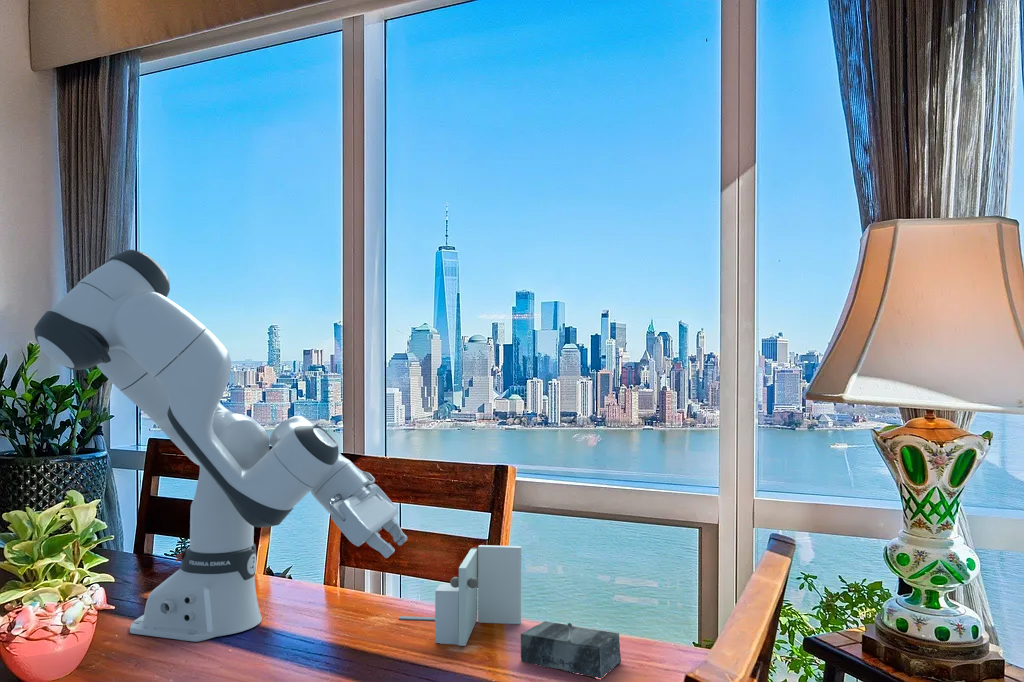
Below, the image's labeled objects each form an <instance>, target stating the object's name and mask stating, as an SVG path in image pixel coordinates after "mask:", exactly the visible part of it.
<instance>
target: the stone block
mask: <svg viewBox="0 0 1024 682" xmlns="http://www.w3.org/2000/svg"><path fill="white" fill-rule="evenodd" d="M520 661H521V662H523V663H526V662H527V663H526V664H530V663H532V664H531V665H534V664H537V665H536V666H538V665H541V666H540V667H543V666H545V667H544V668H550V667H551V668H552V669H556V670H557V669H558V670H562V671H565V672H568V671H569V673H571V672H574V673H579V674H583V675H589V676H588V677H591V676H593V677H598V678H602V677H603V676H604V675H605V674H606V673H608V672H609V671H610V670H612V669H613V668H614V667H615V666H616V665H617V664H619V663H620V662H621V663H622V654H621V643H620V633H619V632H613V631H606V630H600V629H593V628H586V627H579V626H573V625H572V623H570V622H568V623H567V624H565V623H560V622H559V623H557V622H550V621H547V620H546V621H543V622H541V623H539V624H537V625H534V626H532V627H530V628H529V629H528V630H525V631H524V632H522V633H521V634H520ZM617 666H618V665H617ZM617 666H616V667H617ZM616 667H615V668H616ZM615 668H614V669H615ZM614 669H613V670H614ZM613 670H612V671H613ZM609 673H610V672H609ZM609 673H608V674H609ZM593 677H592V678H593Z"/></svg>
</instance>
